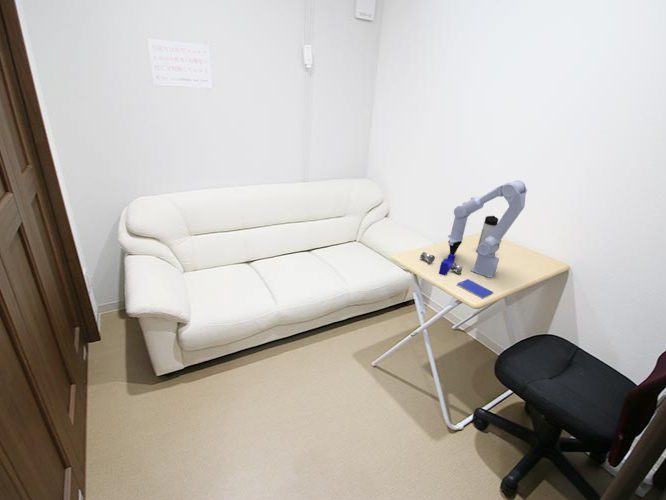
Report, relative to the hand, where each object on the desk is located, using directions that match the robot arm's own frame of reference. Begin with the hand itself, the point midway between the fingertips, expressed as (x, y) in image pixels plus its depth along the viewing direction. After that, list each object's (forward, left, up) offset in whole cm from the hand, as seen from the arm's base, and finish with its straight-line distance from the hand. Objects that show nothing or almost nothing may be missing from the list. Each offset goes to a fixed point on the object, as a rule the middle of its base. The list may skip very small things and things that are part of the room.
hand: (452, 254), depth 175 cm
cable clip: (-2, +14, -3) cm, 15 cm away
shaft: (+8, +13, -2) cm, 15 cm away
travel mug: (-10, -20, -3) cm, 23 cm away
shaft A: (-7, +14, -2) cm, 16 cm away
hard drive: (-19, +23, -3) cm, 30 cm away
